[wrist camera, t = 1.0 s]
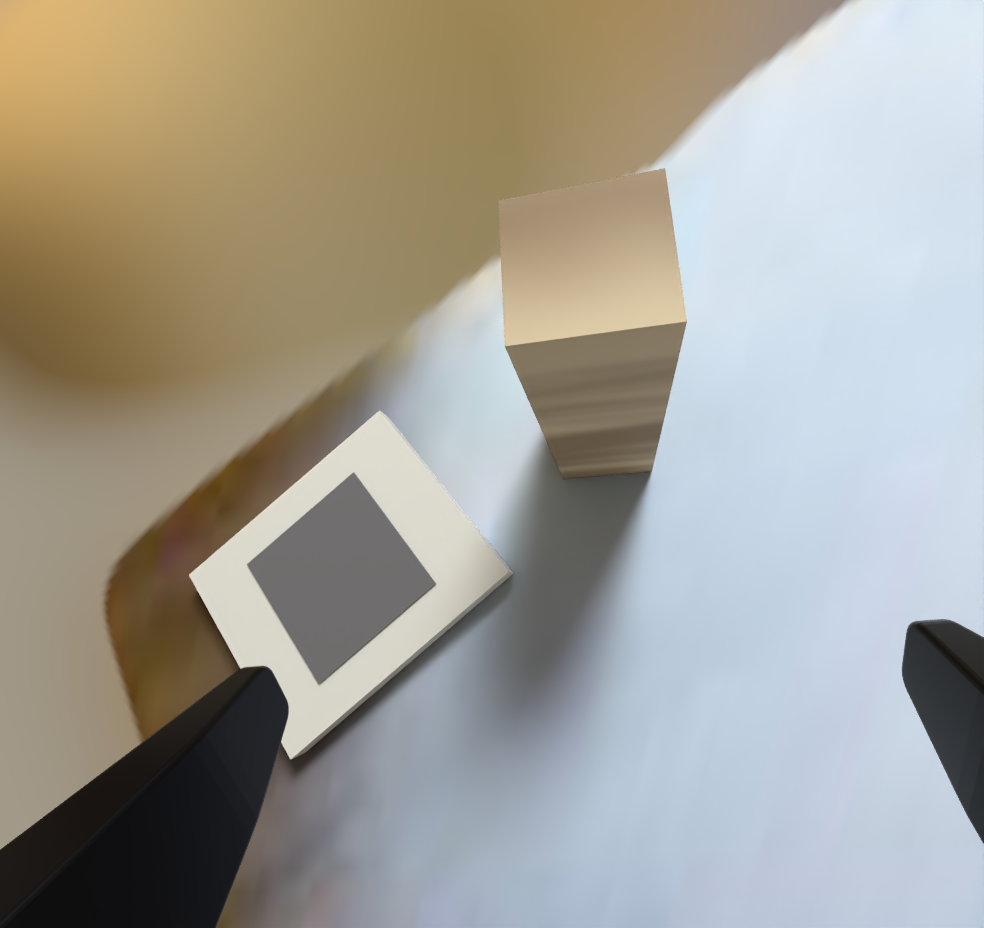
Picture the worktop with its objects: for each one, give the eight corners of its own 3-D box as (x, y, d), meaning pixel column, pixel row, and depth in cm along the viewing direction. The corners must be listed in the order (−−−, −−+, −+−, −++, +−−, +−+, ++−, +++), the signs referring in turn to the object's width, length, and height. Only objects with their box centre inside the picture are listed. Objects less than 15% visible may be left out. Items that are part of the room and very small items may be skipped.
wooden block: (651, 471, 22) (686, 321, 10) (562, 478, 22) (504, 345, 11) (642, 388, 23) (665, 168, 11) (557, 398, 23) (498, 200, 12)
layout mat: (389, 418, 25) (378, 409, 24) (513, 573, 22) (508, 571, 21) (205, 576, 25) (187, 574, 24) (304, 752, 22) (288, 760, 21)
